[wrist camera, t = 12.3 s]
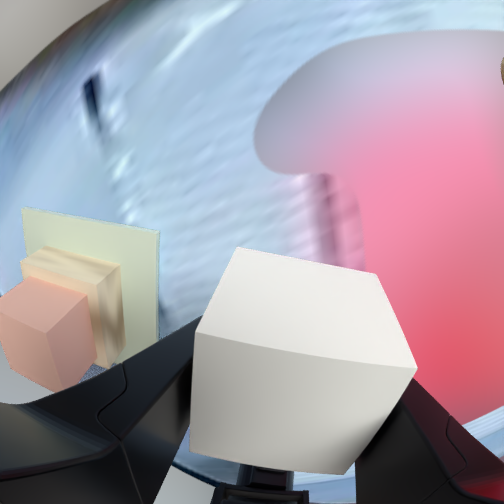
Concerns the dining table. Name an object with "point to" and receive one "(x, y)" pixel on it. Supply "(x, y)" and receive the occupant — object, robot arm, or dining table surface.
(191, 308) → the dining table surface
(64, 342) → the coral block
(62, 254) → the block
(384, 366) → the cap block
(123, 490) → the robot arm
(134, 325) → the baseplate
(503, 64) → the sprinkles bottle
